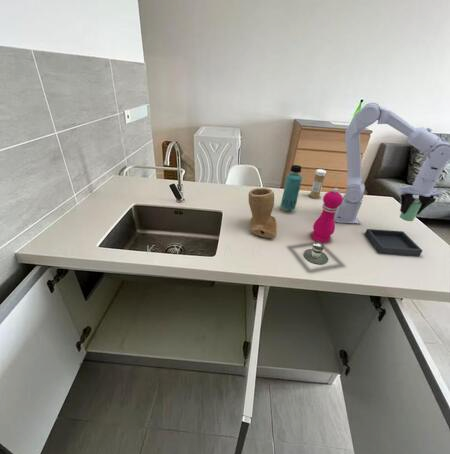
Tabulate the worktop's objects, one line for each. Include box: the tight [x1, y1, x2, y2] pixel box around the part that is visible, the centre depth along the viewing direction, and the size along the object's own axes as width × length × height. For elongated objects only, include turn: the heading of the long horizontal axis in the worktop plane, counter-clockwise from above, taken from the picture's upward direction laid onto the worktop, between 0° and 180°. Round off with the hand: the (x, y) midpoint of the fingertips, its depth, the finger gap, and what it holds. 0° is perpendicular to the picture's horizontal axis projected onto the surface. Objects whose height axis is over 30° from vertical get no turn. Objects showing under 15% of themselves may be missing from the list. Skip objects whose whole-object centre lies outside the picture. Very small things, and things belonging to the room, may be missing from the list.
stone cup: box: [248, 187, 278, 239], centre depth 89 cm, size 15×12×15 cm
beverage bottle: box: [280, 164, 303, 211], centre depth 101 cm, size 6×7×20 cm
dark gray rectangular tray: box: [364, 228, 423, 257], centre depth 87 cm, size 14×12×2 cm
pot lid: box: [303, 241, 329, 265], centre depth 79 cm, size 12×12×5 cm
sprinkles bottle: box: [309, 168, 327, 199], centre depth 116 cm, size 5×5×14 cm
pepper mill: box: [311, 187, 343, 244], centre depth 84 cm, size 7×7×20 cm
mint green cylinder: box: [399, 197, 422, 222], centre depth 89 cm, size 4×4×8 cm
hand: (409, 212), depth 90 cm, fingers closed on mint green cylinder, 4 cm apart
